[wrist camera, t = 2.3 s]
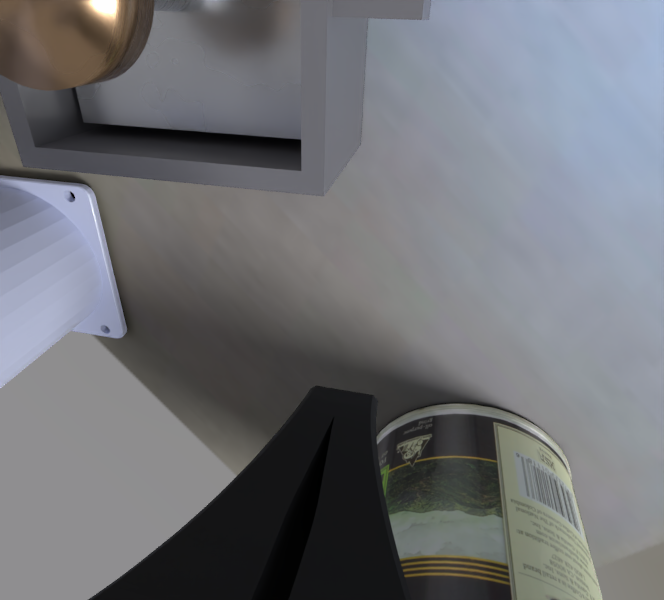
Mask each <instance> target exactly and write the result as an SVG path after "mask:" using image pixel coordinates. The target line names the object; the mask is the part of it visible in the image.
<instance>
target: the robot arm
mask: <svg viewBox="0 0 664 600" xmlns="http://www.w3.org/2000/svg"><path fill="white" fill-rule="evenodd" d="M70 191H71V192H72V193H73V194H74V196H75V198H73V197H72V195H71V193H70ZM106 326H107V327H108V328H107V327H106ZM70 331H74V332H81V333H87V334H93V335H99V336H105V337H111V338H121V337H123V336H124V335H125V334H126V332H127V327H126V322H125V318H124V314H123V310H122V306H121V302H120V297H119V293H118V289H117V285H116V281H115V276H114V272H113V268H112V264H111V260H110V256H109V251H108V247H107V243H106V239H105V235H104V230H103V226H102V222H101V218H100V214H99V210H98V205H97V201H96V197H95V194H94V192H93V191H92V189H91V188H90V187H88V186H87V185H85V184H79V183H70V182H60V181H50V180H40V179H31V178H21V177H11V176H1V175H0V388H1V387H3V386H4V385H5V384H6V383H8V382H9V381H10V380H11V379H12V378H13V377H15V376H16V375H17V374H19V373H20V372H21V371H22V370H23V369H24V368H26V367H27V366H28V365H29V364H31V363H32V362H33V361H34V360H35V359H37V358H38V357H39V356H40V355H42V354H43V353H44V352H45V351H47V350H48V349H49V348H50V347H51V346H53V345H54V344H55V343H56V342H58V341H59V340H60V339H61V338H62V337H63V336H65V335H66V334H67V333H68V332H70ZM377 404H378V400H377V399H376V398H375V397H374V396H373V395H368V394H362V393H356V392H350V391H344V390H338V389H332V388H326V387H320V386H315V387H313V388H312V389H310V391H309V392H308V394H307V395H306V397H305V398H304V399H303V401H302V402H301V403H300V405H299V406H298V407H297V409H296V410H295V411H294V413H293V414H292V415H291V416H290V418H289V419H288V420H287V421H286V423H285V424H284V425H283V426H282V427H281V429H280V430H279V431H278V432H277V433H276V434H275V436H274V437H273V438H272V439H271V440H270V441H269V442H268V444H267V445H266V446H265V447H264V448H263V449H262V450H261V451H260V453H259V454H258V455H257V456H256V457H255V458H254V459H253V460H252V461H251V462H250V463H249V465H248V466H247V467H246V468H245V469H244V470H243V471H242V472H241V473H240V474H239V475H238V476H237V477H236V478H235V479H234V480H233V481H232V482H231V483H230V484H229V485H228V486H227V487H226V488H225V489H224V490H223V491H222V492H221V493H220V494H219V495H218V496H217V497H216V498H215V499H213V500H212V501H211V502H210V503H209V504H208V505H207V506H206V507H205V508H204V509H203V510H202V511H200V512H199V513H198V514H197V515H196V516H195V517H194V518H193V519H191V520H190V521H189V522H188V523H187V524H186V525H185V526H184V527H182V528H181V529H180V530H179V531H178V532H176V533H175V534H174V535H173V536H172V537H170V538H169V539H168V540H167V541H166V542H164V543H163V544H162V545H161V546H159V547H158V548H157V549H156V550H154V551H153V552H152V553H151V554H149V555H148V556H147V557H146V558H144V559H143V560H142V561H141V562H139V563H138V564H137V565H136V566H134V567H133V568H132V569H130V570H129V571H128V572H126V573H125V574H124V575H122V576H121V577H120V578H118V579H117V580H116V581H114V582H113V583H112V584H110V585H109V586H107V587H106V588H104V589H103V590H102V591H100V592H99V593H97V594H96V595H94V596H93V597H92V598H90V599H89V600H412V599H411V596H410V593H409V590H408V586H407V583H406V579H405V576H404V573H403V569H402V566H401V562H400V558H399V555H398V551H397V547H396V543H395V539H394V535H393V531H392V527H391V523H390V518H389V514H388V510H387V505H386V500H385V495H384V489H383V483H382V477H381V471H380V465H379V458H378V449H377V437H376V413H377Z"/></svg>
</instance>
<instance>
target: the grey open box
mask: <svg viewBox="0 0 664 600" xmlns="http://www.w3.org/2000/svg"><path fill="white" fill-rule="evenodd" d="M430 6H431V0H301V139H289V138H276V137H264V136H251V135H238V134H225V133H213V132H200V131H187V130H174V129H161V128H149V127H136V126H123V125H110V124H97V123H85V122H83V118H82V114H81V109H80V105H79V101H78V96H77V92H76V88H75V87H73V88H67V89H62V90H52V91H45V90H38V89H33V88H29V87H26V86H22V85H20V84H18V83H16V82H13V81H11V80H9V79H8V78H6V77H4V76H2V75H1V74H0V93H1V96H2V99H3V103H4V106H5V109H6V112H7V115H8V119H9V122H10V125H11V128H12V132H13V135H14V138H15V141H16V145H17V148H18V151H19V154H20V157H21V161H22V164H23V167H31V168H41V169H51V170H62V171H72V172H82V173H92V174H102V175H112V176H123V177H133V178H143V179H153V180H163V181H174V182H184V183H194V184H204V185H214V186H225V187H235V188H245V189H255V190H265V191H276V192H286V193H296V194H306V195H316V196H324V195H325V194H326V193H327V191H328V190H329V188H330V187H331V186H332V184H333V183H334V181H335V180H336V179H337V177H338V176H339V174H340V173H341V172H342V170H343V169H344V167H345V166H346V165H347V163H348V162H349V160H350V159H351V158H352V156H353V155H354V153H355V152H356V151H357V149H358V148H359V146H360V145H361V132H362V114H363V97H364V80H365V62H366V45H367V28H368V18H380V19H410V20H429V15H430Z"/></svg>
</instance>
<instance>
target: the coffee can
mask: <svg viewBox="0 0 664 600" xmlns="http://www.w3.org/2000/svg"><path fill="white" fill-rule="evenodd" d="M377 449H378V458H379V465H380V471H381V477H382V483H383V489H384V495H385V500H386V505H387V510H388V514H389V518H390V523H391V527H392V531H393V535H394V539H395V543H396V547H397V551H398V555H399V558H400V562H401V566H402V569H403V573H404V576H405V579H406V583H407V586H408V590H409V593H410V596H411V599H412V600H603V599H602V595H601V591H600V587H599V583H598V579H597V576H596V572H595V569H594V566H593V562H592V558H591V554H590V549H589V545H588V541H587V537H586V534H585V530H584V526H583V523H582V519H581V515H580V511H579V508H578V504H577V500H576V496H575V493H574V489H573V485H572V481H571V471H570V467H569V464H568V461H567V459H566V457H565V455H564V453H563V451H562V449H561V448H560V447H559V446H558V445H557V444H556V443H555V442H554V441H553V439H552V438H551V437H550V436H549V435H547V434H546V433H545V432H544V431H543V430H541V429H540V428H538V427H537V426H536V425H534V424H532V423H531V422H529V421H527V420H525V419H523V418H521V417H519V416H517V415H514V414H512V413H509V412H506V411H503V410H500V409H497V408H493V407H485V406H480V405H474V404H459V403H455V404H441V405H434V406H429V407H425V408H421V409H417V410H414V411H411V412H408V413H406V414H404V415H403V416H401V417H399V418H397V419H395V420H394V421H392V422H391V423H389V424H388V425H387V426H386V427H385V428H384V429H383V430H382V431H381V432H380V433H379V434H378V435H377Z"/></svg>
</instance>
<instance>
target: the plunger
mask: <svg viewBox="0 0 664 600" xmlns="http://www.w3.org/2000/svg"><path fill="white" fill-rule="evenodd" d="M0 74H1V75H2V76H4V77H6V78H8V79H9V80H11V81H13V82H16V83H18V84H20V85H22V86H26V87H29V88H33V89H38V90H45V91H52V90H62V89H67V88H73V87H75V88H76V92H77V96H78V101H79V105H80V109H81V114H82V118H83V122H85V123H97V124H110V125H123V126H136V127H149V128H161V129H174V130H187V131H200V132H213V133H225V134H238V135H251V136H264V137H276V138H289V139H301V0H0Z"/></svg>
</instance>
